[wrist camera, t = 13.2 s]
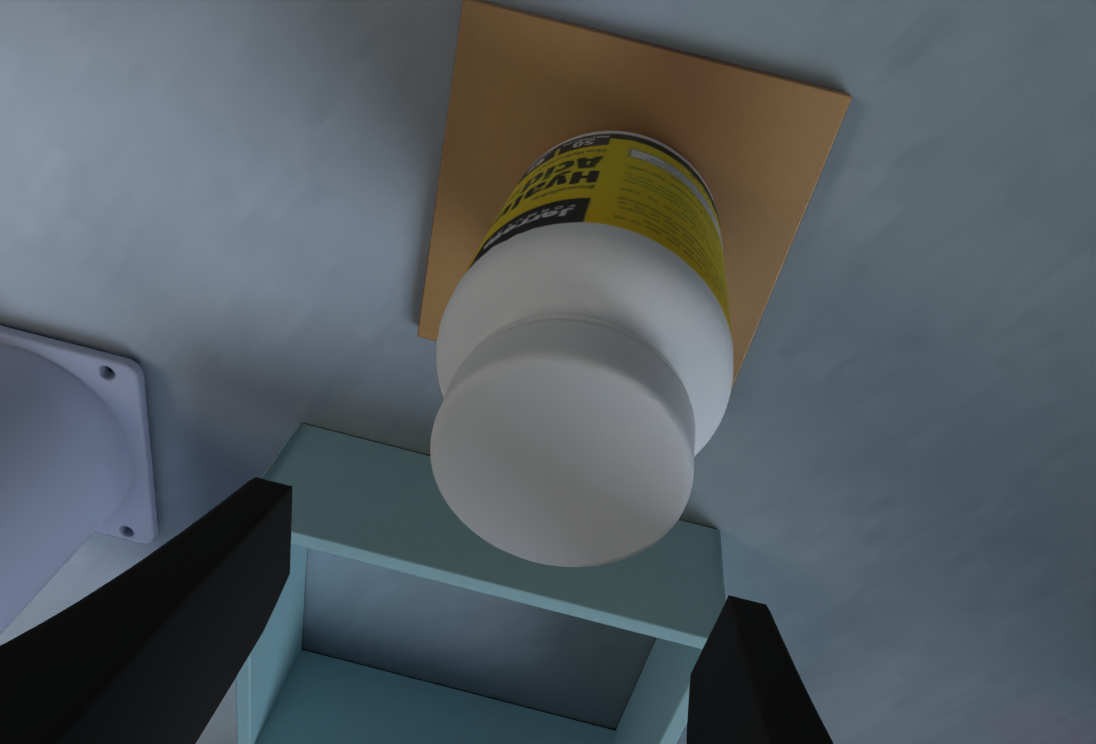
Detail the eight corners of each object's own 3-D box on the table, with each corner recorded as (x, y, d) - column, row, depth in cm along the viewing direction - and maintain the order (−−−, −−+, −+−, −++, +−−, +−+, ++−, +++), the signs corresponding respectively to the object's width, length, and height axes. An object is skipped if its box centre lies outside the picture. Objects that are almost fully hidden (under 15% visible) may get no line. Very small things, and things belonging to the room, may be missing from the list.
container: (289, 653, 31) (236, 758, 28) (299, 421, 25) (231, 516, 21) (624, 739, 31) (617, 856, 27) (720, 530, 25) (729, 644, 21)
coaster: (420, 330, 22) (416, 337, 22) (466, -4, 18) (462, -2, 17) (721, 407, 22) (721, 415, 22) (849, 92, 18) (853, 96, 17)
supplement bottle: (606, 74, 18) (546, 228, 9) (765, 231, 19) (833, 486, 11) (464, 233, 20) (318, 465, 12) (613, 362, 22) (573, 649, 13)
